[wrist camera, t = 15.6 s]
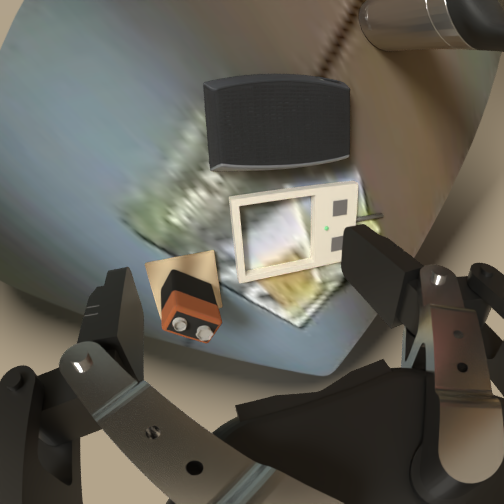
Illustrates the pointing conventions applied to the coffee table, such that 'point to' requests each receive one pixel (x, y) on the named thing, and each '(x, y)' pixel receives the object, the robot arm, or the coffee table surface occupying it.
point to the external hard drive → (276, 121)
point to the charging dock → (322, 225)
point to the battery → (189, 307)
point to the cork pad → (189, 264)
